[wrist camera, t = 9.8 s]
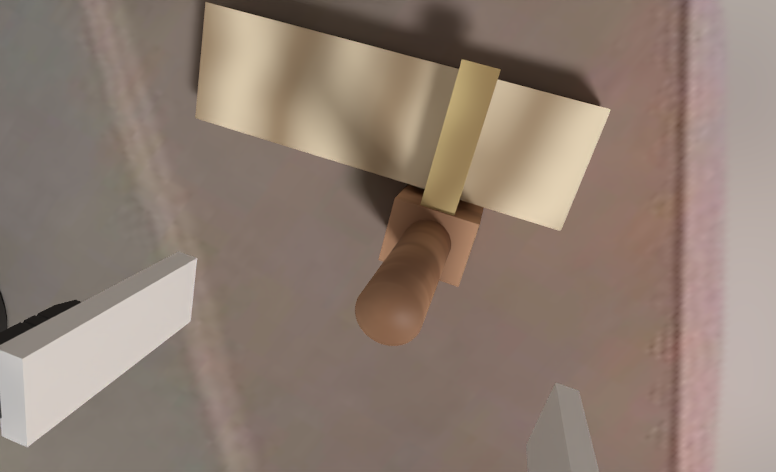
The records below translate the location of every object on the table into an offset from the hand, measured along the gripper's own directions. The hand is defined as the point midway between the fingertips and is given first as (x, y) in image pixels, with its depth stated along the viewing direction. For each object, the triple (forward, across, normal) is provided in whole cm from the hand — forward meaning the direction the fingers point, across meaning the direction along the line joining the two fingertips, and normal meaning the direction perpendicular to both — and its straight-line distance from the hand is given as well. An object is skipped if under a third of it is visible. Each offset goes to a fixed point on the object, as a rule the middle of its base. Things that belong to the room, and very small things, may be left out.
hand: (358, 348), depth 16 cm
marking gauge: (+16, +1, +4) cm, 16 cm away
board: (+16, -4, +6) cm, 18 cm away
